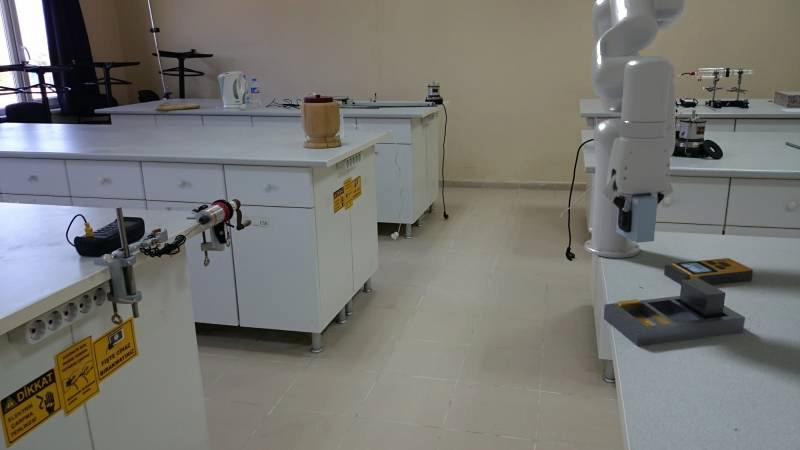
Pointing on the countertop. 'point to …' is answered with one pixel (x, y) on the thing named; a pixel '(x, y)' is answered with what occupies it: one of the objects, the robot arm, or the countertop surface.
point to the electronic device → (709, 271)
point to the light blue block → (641, 218)
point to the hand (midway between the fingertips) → (634, 228)
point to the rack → (675, 315)
